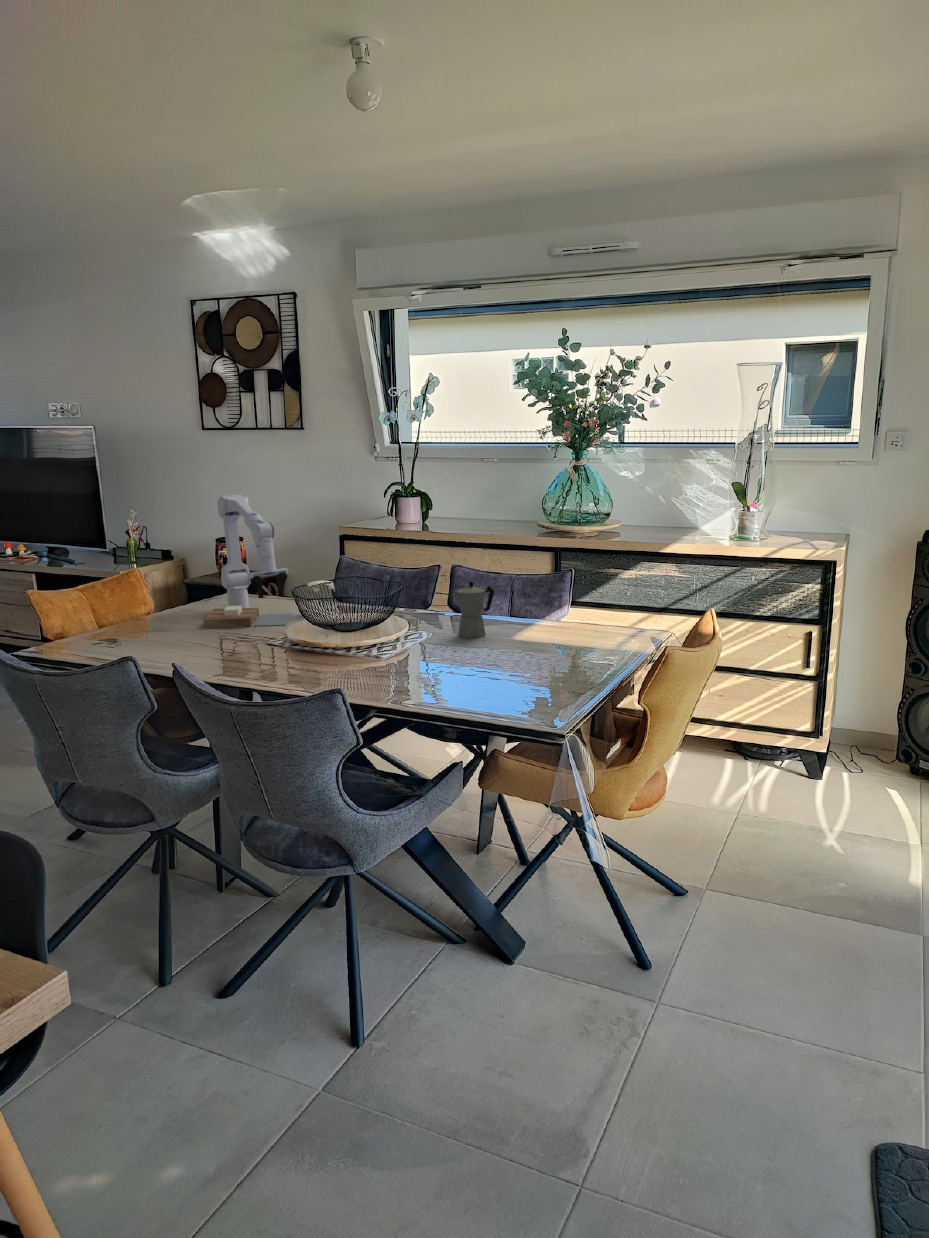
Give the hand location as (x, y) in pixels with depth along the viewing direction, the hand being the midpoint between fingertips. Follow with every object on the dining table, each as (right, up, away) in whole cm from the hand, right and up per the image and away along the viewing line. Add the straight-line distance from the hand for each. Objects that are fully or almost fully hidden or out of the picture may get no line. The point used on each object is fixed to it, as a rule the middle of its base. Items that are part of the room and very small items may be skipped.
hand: (271, 596), depth 305 cm
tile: (-16, -6, +9) cm, 19 cm away
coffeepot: (+71, -13, -15) cm, 73 cm away
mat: (-2, -8, +10) cm, 13 cm away
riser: (-16, -9, +9) cm, 20 cm away
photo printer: (+14, -6, +20) cm, 25 cm away
